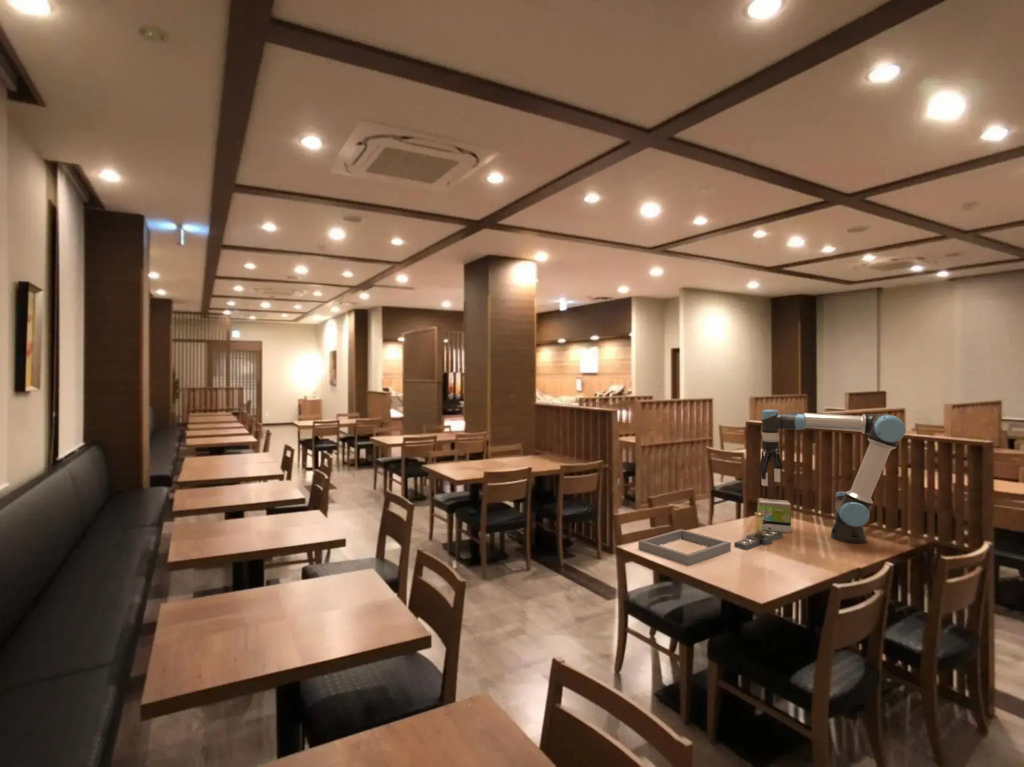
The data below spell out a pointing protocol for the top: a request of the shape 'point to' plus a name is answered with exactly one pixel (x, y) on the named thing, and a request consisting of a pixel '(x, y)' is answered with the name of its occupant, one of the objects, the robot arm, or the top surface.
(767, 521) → the tea box
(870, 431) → the robot arm
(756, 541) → the chain ends
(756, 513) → the pin
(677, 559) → the frame
